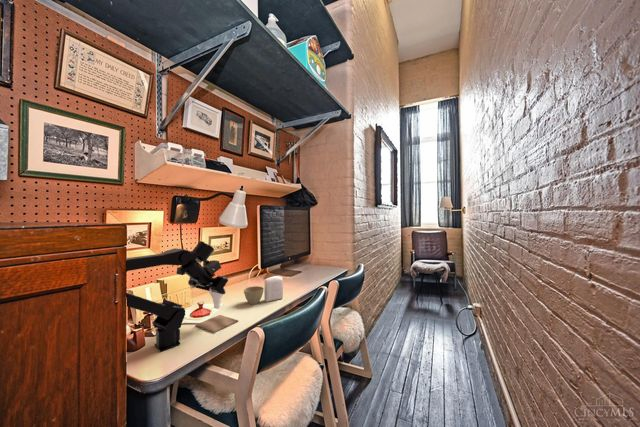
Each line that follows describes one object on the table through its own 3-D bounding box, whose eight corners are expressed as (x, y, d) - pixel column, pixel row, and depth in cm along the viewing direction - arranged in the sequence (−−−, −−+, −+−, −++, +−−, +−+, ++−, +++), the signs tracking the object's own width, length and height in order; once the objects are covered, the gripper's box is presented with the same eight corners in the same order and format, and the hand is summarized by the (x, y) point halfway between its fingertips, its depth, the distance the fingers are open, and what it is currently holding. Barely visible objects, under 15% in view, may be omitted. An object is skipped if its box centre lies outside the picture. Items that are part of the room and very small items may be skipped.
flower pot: (248, 299, 139) (248, 286, 139) (266, 299, 138) (266, 286, 138) (240, 305, 129) (240, 291, 129) (259, 306, 128) (259, 292, 128)
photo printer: (280, 296, 143) (280, 274, 143) (284, 298, 139) (284, 276, 139) (263, 300, 137) (263, 277, 137) (266, 302, 133) (266, 278, 133)
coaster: (214, 333, 99) (214, 331, 99) (195, 326, 105) (195, 324, 105) (238, 321, 110) (238, 320, 110) (219, 316, 116) (219, 314, 116)
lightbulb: (219, 311, 105) (218, 285, 105) (206, 310, 106) (205, 284, 106) (227, 306, 111) (227, 281, 111) (215, 305, 112) (215, 280, 112)
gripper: (224, 257, 101) (245, 278, 110) (195, 253, 110) (216, 273, 119) (206, 281, 94) (230, 302, 103) (176, 275, 103) (201, 295, 113)
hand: (219, 292), depth 110 cm, fingers closed on lightbulb, 6 cm apart
